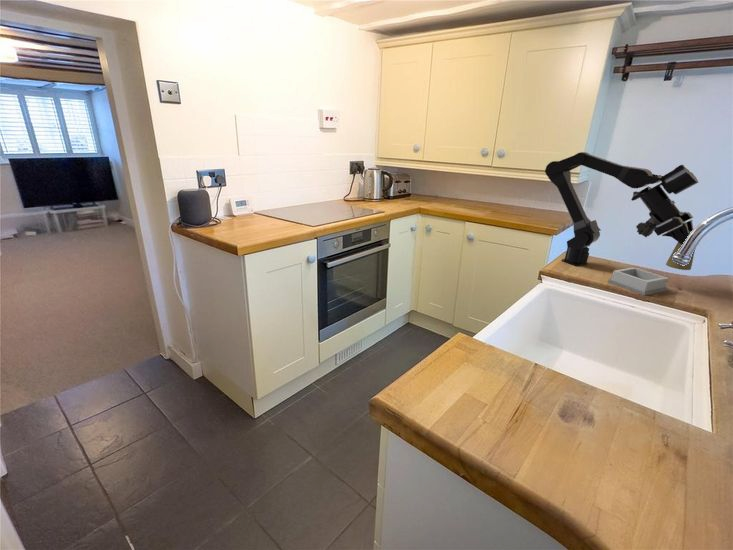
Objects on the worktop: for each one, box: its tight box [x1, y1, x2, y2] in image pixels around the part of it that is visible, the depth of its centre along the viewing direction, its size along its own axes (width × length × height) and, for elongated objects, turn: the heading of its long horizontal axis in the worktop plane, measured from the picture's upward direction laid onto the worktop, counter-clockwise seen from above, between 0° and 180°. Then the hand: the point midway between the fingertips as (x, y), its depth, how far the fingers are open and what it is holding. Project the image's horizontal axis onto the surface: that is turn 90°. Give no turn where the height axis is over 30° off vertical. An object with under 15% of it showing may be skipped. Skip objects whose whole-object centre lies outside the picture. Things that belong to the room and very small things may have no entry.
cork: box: [665, 231, 696, 271], centre depth 106 cm, size 6×6×11 cm
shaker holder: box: [607, 267, 669, 296], centre depth 110 cm, size 11×11×4 cm
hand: (691, 247), depth 105 cm, fingers closed on cork, 5 cm apart
